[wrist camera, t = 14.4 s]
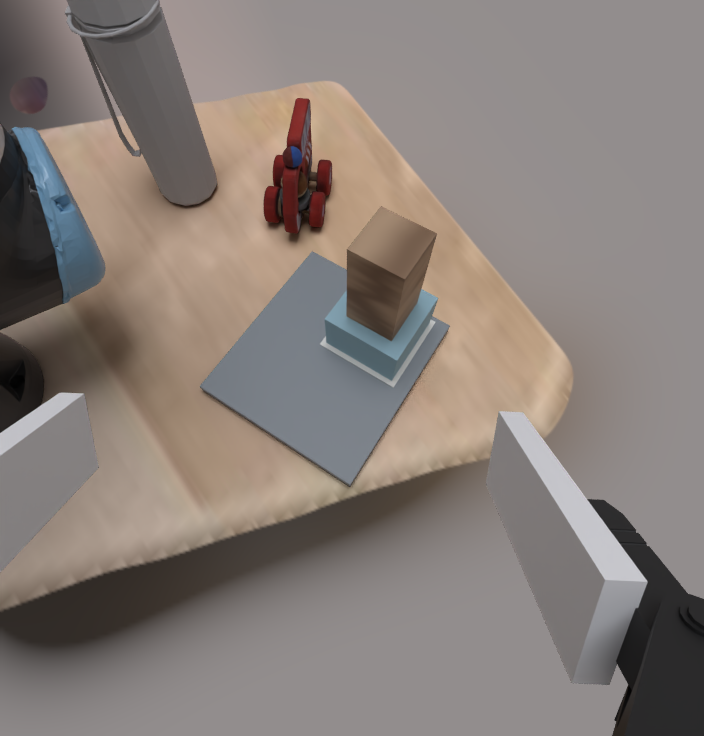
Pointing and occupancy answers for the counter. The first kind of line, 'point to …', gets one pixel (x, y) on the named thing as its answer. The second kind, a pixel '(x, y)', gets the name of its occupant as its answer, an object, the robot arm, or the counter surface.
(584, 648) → the robot arm
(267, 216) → the toy fire truck
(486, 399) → the counter surface
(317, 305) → the slate board
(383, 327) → the walnut block
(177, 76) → the water bottle
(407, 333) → the teal block
